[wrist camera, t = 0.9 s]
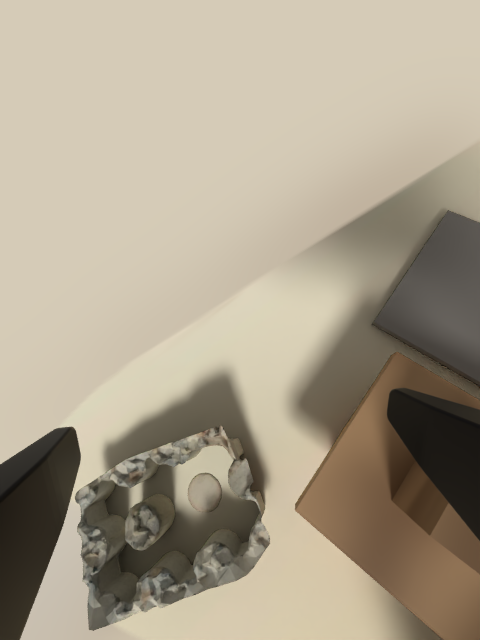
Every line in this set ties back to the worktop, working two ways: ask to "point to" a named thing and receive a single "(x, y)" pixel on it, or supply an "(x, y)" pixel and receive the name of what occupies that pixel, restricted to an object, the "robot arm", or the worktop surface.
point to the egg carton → (162, 533)
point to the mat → (441, 298)
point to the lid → (398, 510)
